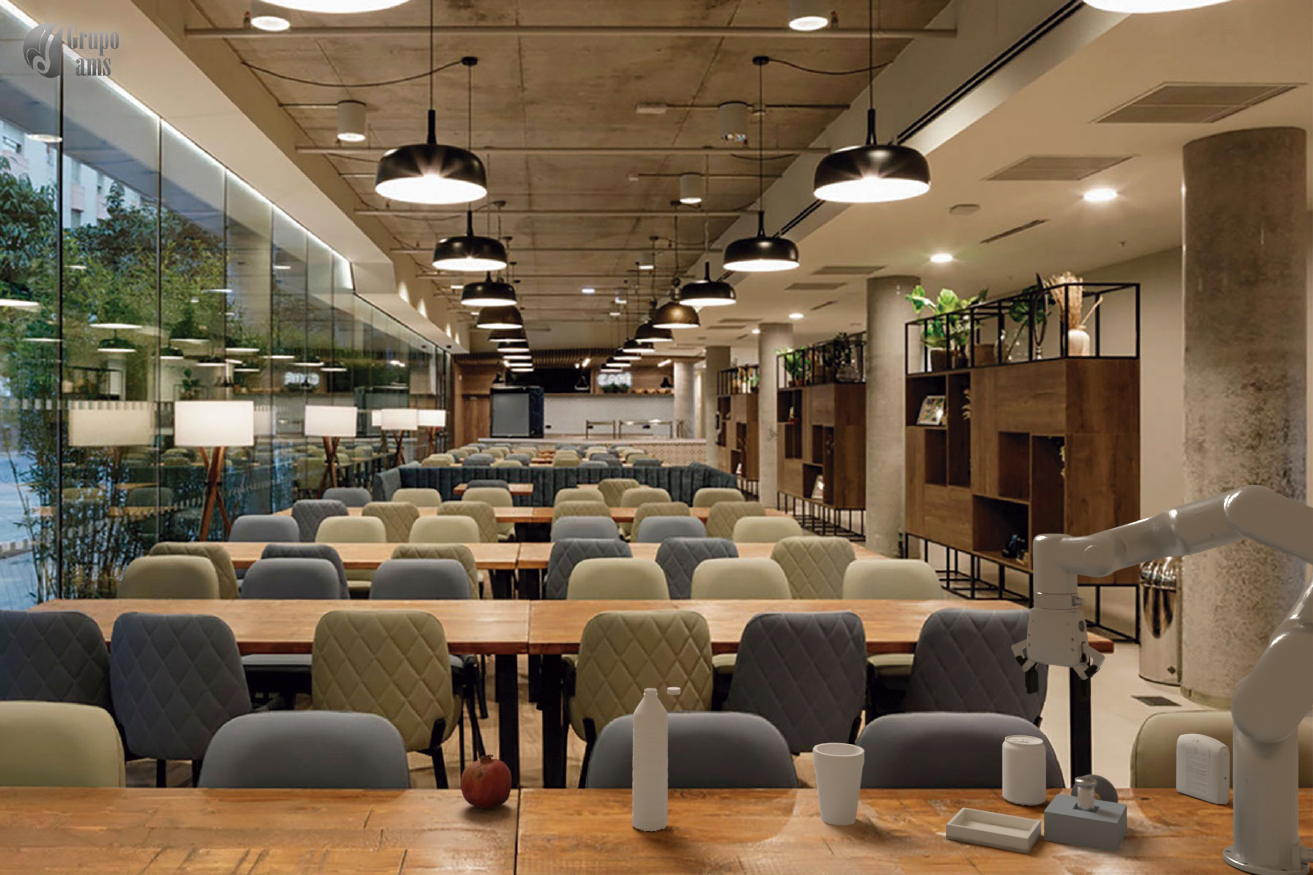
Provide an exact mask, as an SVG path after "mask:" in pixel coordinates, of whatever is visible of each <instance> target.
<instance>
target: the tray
mask: <svg viewBox="0 0 1313 875" xmlns="http://www.w3.org/2000/svg"><path fill="white" fill-rule="evenodd" d="M1041 836H1042V820H1041V819H1040V820H1039V819H1034V818H1027V817H1021V816H1018V815H1017V816H1016V815H1011V814H1004V813H999V812H992V811H986V810H982V809H975V808H967V807H962V808H960V810H958V811H957V813H956V814H955V815H953V816H952V818H951V819H950V820H949V821H947V823H945V839H946V840H947V839H948V840H952V841H959V842H964V843H969V844H974V845H979V846H985V847H990V848H996V849H1001V850H1005V851H1006V850H1007V851H1012V852H1017V853H1024V854H1029V852H1031V850H1032V848H1033V847H1034V845H1035V844H1036V843H1037V841H1038V840H1039V838H1040V837H1041Z"/></svg>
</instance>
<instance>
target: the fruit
mask: <svg viewBox="0 0 1313 875" xmlns="http://www.w3.org/2000/svg"><path fill="white" fill-rule="evenodd" d="M493 757H494V754H490V753H489V754H486V755H480V757H479V760H475V761H473V762H471V763H469V764H468V765H467V766H466V767H465V768H464V769H463V772H462V774H461V778H460V789H461V793H462V796H463V798H464V800H465V802H467V803H468V804H469V805H471V806H473V807H477V808H481V809H487V810H489V809H495V808H497V807H499V806H502V805H504V804H505V803H506V802H507V801H508V800H509V798H510V795H511V789H512V772H511V770H510V768H509V767H508V765H507V764H506V763H505V762H503V760H500V759H497V758H493Z"/></svg>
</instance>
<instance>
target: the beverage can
mask: <svg viewBox="0 0 1313 875" xmlns="http://www.w3.org/2000/svg"><path fill="white" fill-rule="evenodd" d="M1001 746H1002V747H1001V748H1002V753H1001V754H1002V755H1001V756H1002V763H1001V764H1002V767H1001V768H1002V772H1001V773H1002V798H1003V799H1005V800H1006V801H1008V802H1009V801H1010V802H1009V803H1011V802H1013V803H1012V804H1014V803H1015V804H1014V805H1017V804H1021V805H1020V806H1024V805H1028V806H1027V807H1032V806H1038V805H1039V806H1040V805H1041V804H1043V803H1045V802H1046V800H1047V794H1046V793H1047V780H1046V779H1047V772H1046V771H1047V759H1046V758H1047V754H1046V753H1047V752H1046V751H1047V748H1046V745H1045V744H1044V741H1043V739H1041V738H1039V737H1036V736H1031V735H1023V734H1016V735H1015V734H1014V735H1008V736H1005V738H1004V741H1003V742H1002V745H1001Z"/></svg>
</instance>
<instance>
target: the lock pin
mask: <svg viewBox="0 0 1313 875" xmlns="http://www.w3.org/2000/svg"><path fill="white" fill-rule="evenodd" d="M1074 784H1076V785H1078V810H1082V811H1088V812H1094V787H1096V786H1097V780H1095V779H1093V778H1089V777H1083V776H1077V777H1075V778H1074Z"/></svg>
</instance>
